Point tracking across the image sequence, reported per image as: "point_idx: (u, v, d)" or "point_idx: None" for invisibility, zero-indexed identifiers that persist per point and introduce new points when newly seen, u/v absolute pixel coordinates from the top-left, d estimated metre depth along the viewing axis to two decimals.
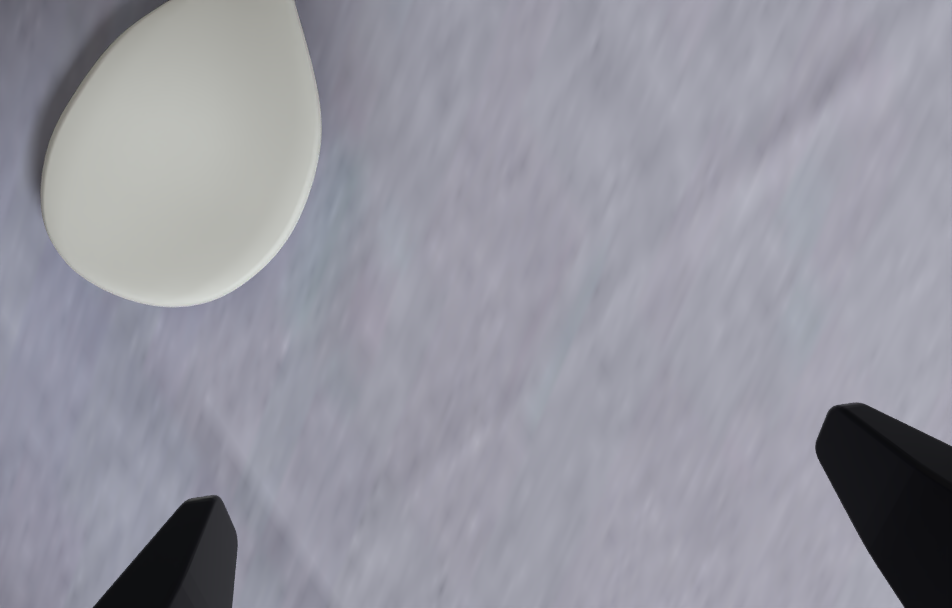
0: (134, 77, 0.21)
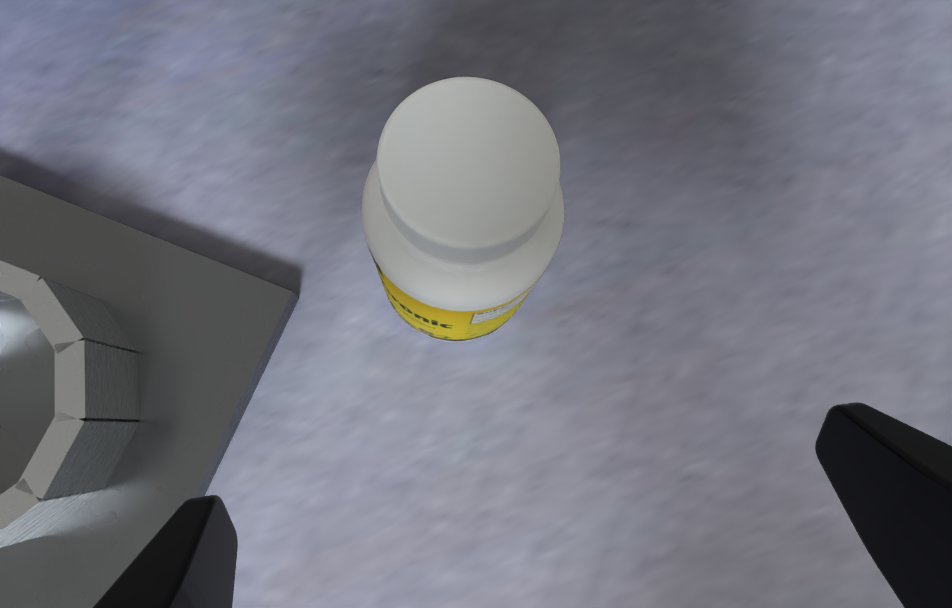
0: None
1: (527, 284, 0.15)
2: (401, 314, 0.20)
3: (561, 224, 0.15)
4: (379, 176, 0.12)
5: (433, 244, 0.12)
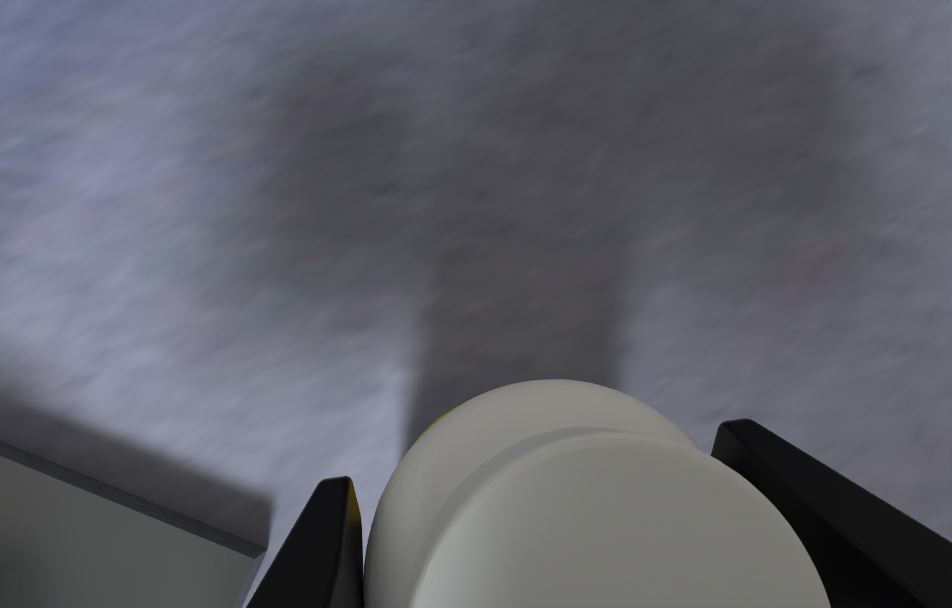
0: None
1: None
2: None
3: None
4: None
5: None
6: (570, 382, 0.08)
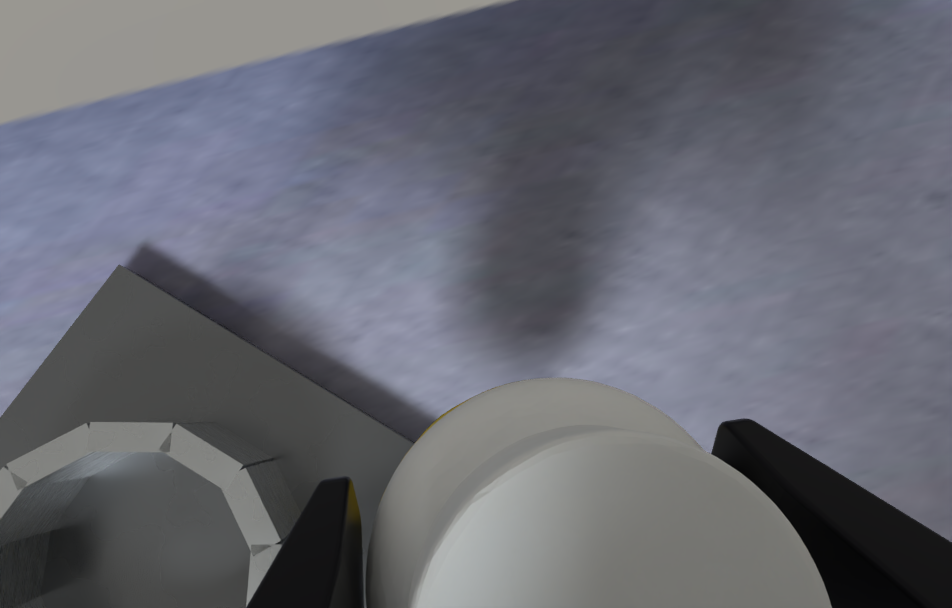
0: None
1: None
2: None
3: None
4: None
5: None
6: (571, 381, 0.08)
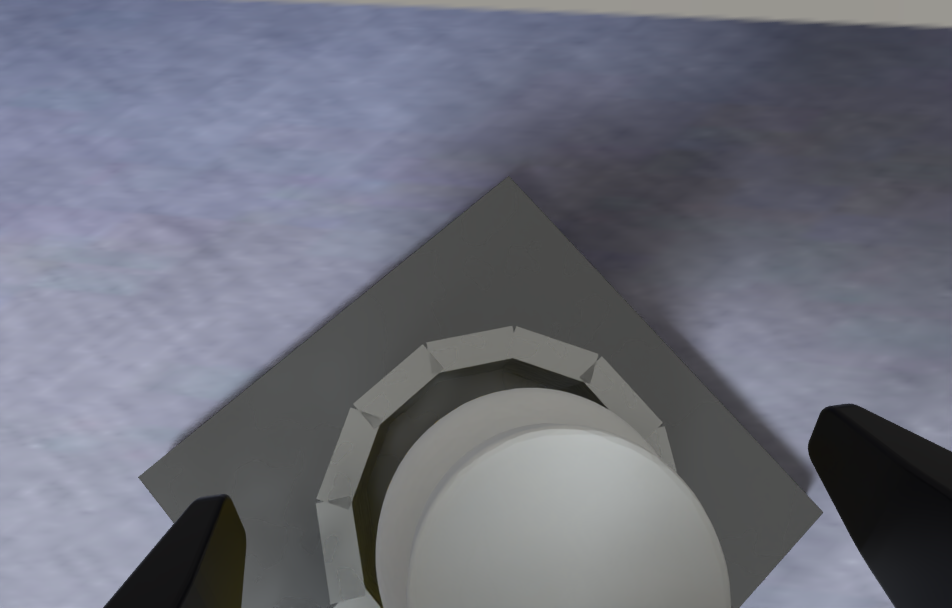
0: None
1: None
2: None
3: None
4: None
5: None
6: (543, 390, 0.10)
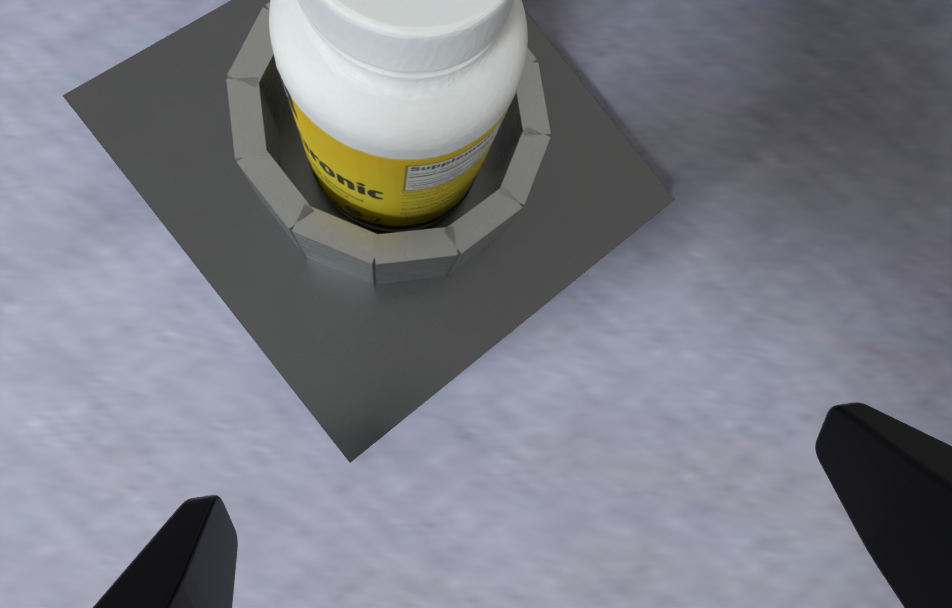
0: None
1: (475, 129, 0.12)
2: (325, 188, 0.16)
3: (522, 59, 0.12)
4: None
5: (351, 29, 0.09)
6: None
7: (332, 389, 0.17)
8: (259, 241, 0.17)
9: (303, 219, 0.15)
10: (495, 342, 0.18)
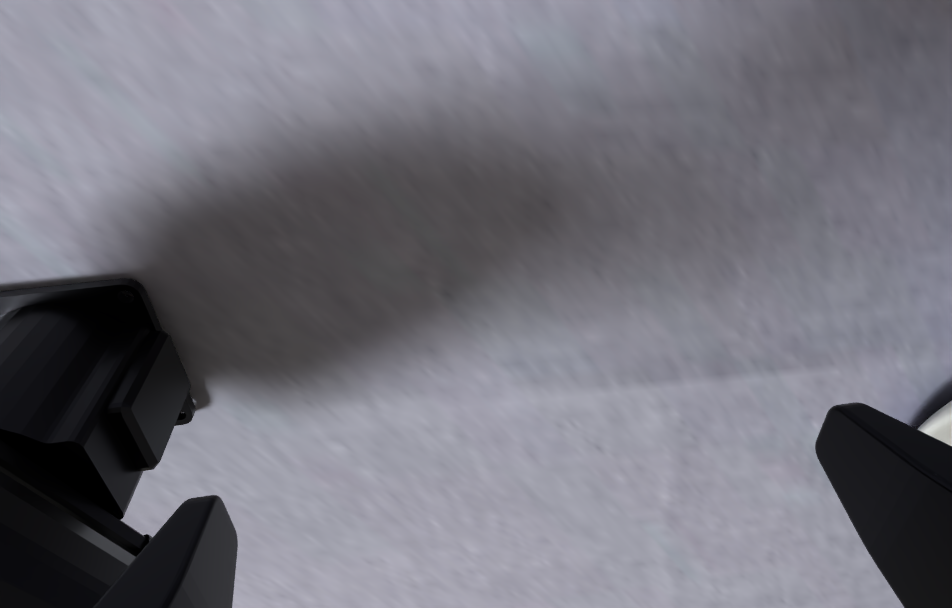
0: None
1: None
2: None
3: None
4: None
5: None
6: None
7: None
8: None
9: None
10: None
